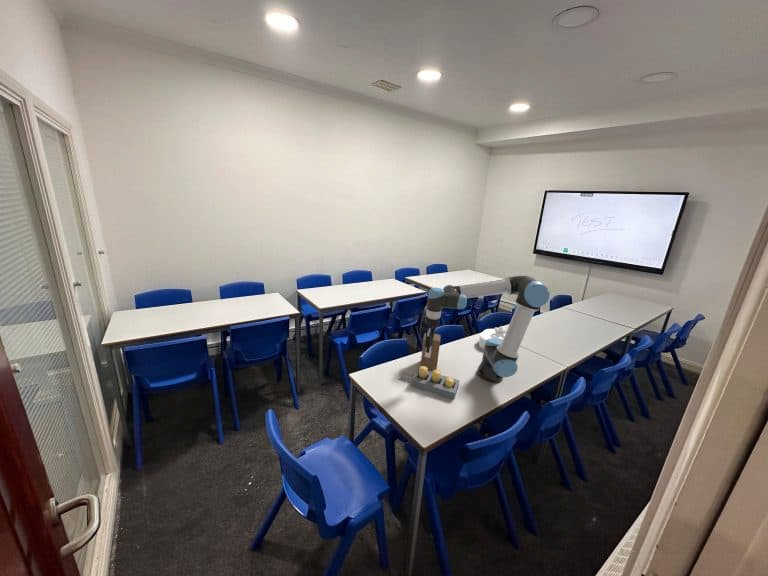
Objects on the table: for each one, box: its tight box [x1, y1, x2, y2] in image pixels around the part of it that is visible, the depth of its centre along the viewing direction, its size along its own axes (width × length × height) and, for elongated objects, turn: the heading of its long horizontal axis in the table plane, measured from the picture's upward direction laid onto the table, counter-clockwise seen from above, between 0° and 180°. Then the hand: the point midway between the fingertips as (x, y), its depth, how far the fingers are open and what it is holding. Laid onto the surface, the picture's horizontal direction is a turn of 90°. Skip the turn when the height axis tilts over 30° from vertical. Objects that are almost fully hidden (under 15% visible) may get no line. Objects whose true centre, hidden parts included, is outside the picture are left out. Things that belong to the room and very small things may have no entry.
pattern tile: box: [399, 372, 415, 384], centre depth 173 cm, size 7×7×1 cm
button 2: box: [431, 369, 442, 382], centre depth 165 cm, size 5×5×5 cm
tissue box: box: [478, 325, 508, 350], centre depth 216 cm, size 25×25×16 cm
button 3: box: [418, 366, 429, 378], centre depth 167 cm, size 5×5×5 cm
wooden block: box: [419, 332, 441, 371], centre depth 184 cm, size 10×10×20 cm
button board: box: [410, 368, 460, 400], centre depth 166 cm, size 24×13×4 cm, turn 66°
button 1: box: [445, 376, 455, 388], centre depth 163 cm, size 5×5×5 cm
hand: (427, 356), depth 163 cm, fingers closed
